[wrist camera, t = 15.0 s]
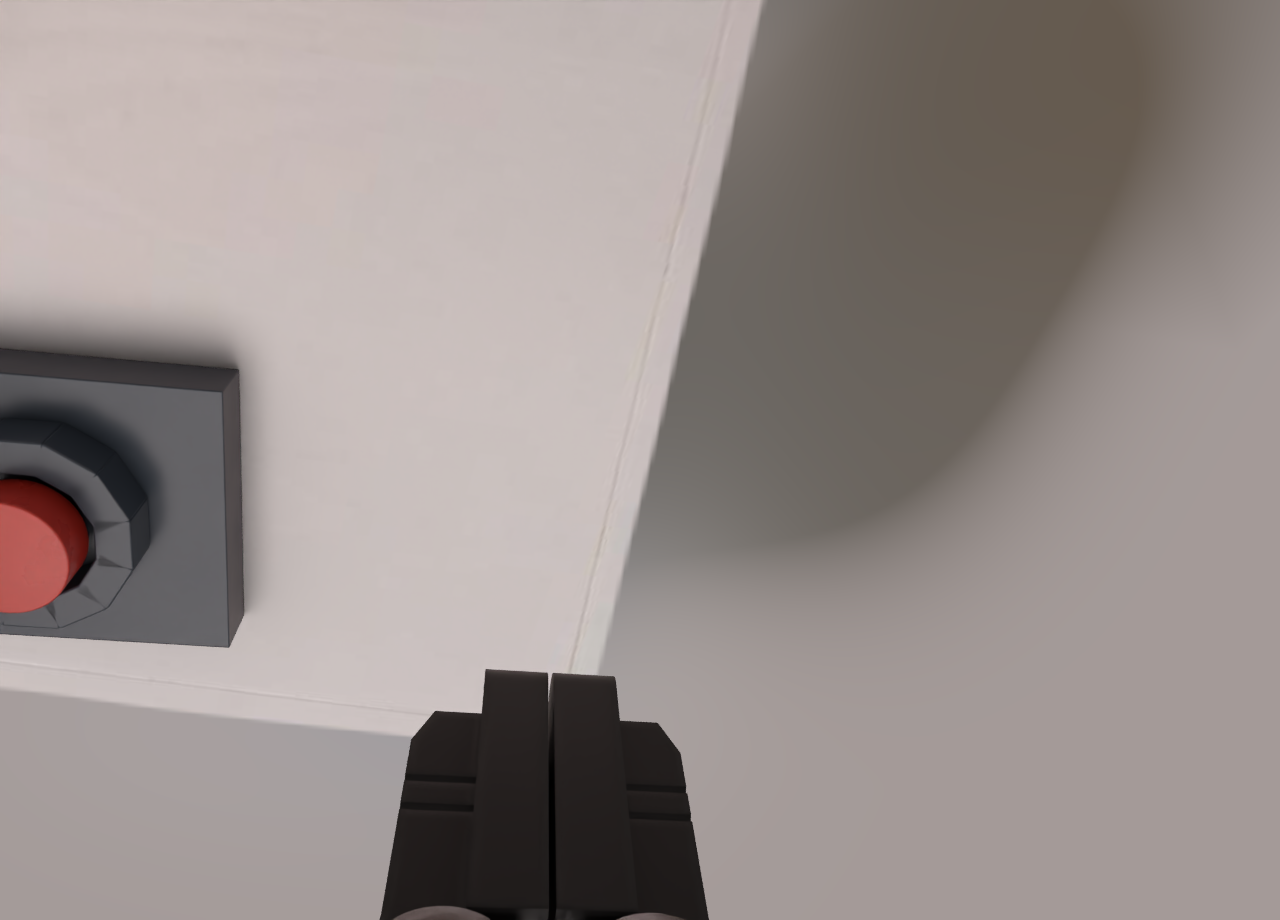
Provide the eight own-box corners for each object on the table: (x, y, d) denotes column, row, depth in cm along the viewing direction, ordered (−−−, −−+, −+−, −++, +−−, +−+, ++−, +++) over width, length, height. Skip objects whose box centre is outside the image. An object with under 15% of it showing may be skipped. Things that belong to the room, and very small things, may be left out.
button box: (239, 369, 39) (207, 411, 35) (244, 616, 43) (216, 676, 39) (-133, 336, 37) (-206, 377, 34) (-92, 594, 41) (-154, 656, 38)
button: (84, 483, 36) (63, 507, 34) (93, 590, 38) (73, 617, 36) (-47, 473, 36) (-75, 497, 34) (-33, 582, 37) (-59, 609, 36)
